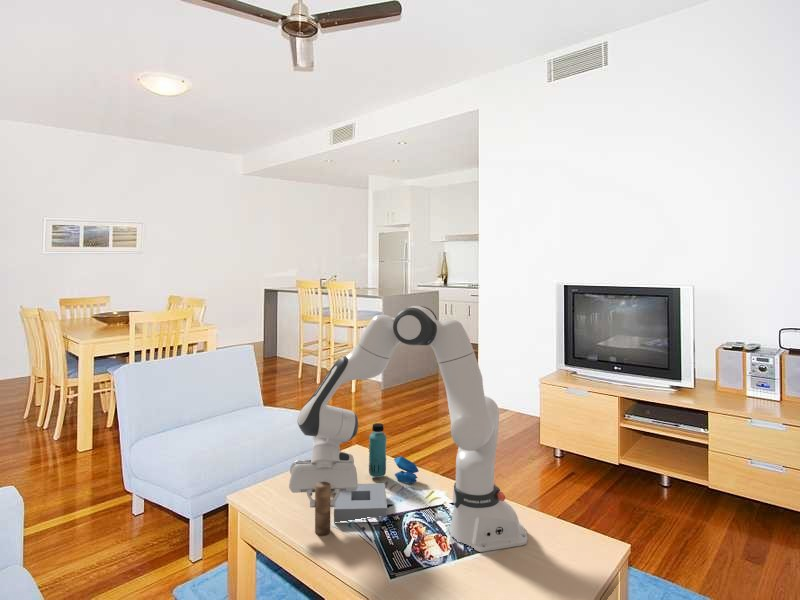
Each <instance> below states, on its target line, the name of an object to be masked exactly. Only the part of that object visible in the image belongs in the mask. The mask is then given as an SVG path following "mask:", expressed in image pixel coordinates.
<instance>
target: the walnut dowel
mask: <svg viewBox="0 0 800 600" xmlns="http://www.w3.org/2000/svg"><path fill="white" fill-rule="evenodd" d="M330 499H331V492H330V483H328V482H319V483H317V484H316V485H315V492H314V500H315V507H314V531H315V532H314V534H315V535H317V536H319V537H325V536H327V535H329V534H330V533H331V507H330Z"/></svg>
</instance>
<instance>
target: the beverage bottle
mask: <svg viewBox="0 0 800 600" xmlns="http://www.w3.org/2000/svg"><path fill="white" fill-rule="evenodd" d="M371 430H372V433H371V434H370V435H369V437H368V438H369V442H368V443H369V445H368V452H369V453H368V473H369V476H371V477H374V478H380V477H381V478H382V477H383V476H385V475H386V474H387V435H386V434H385V432H383V431H384V430H385V429H384V424H383V423H378V422H377V423H376V422H375V423H373V424H372V429H371Z"/></svg>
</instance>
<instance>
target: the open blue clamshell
mask: <svg viewBox="0 0 800 600" xmlns="http://www.w3.org/2000/svg"><path fill="white" fill-rule="evenodd" d="M393 460H394V462H395V464H396V466H397V467H398V468H399V469H400V470H401V471H399V472H398V471H397V472H396V473H394V477H395V478H396V479H397V481H398V482H402V483H406V484H413V483H416V482H417V479H418V477H417V475H416V473H419V472H420V471H419V468H418V467H417V465H416V464H415V463H414V462H412V461H410V460H409V459H407V458H406V457H404V456H399V457H395V458H393Z"/></svg>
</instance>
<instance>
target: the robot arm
mask: <svg viewBox="0 0 800 600" xmlns="http://www.w3.org/2000/svg"><path fill="white" fill-rule="evenodd" d="M400 343H402V344H405V345H407V346H430V347H431V349H432V350H433V353H434V356H435V359H436V362H437V365H438V368H439V372H440V375H441V378H442V382H443V384H444V388H445V392H446V399H447V406H448V413H449V419H450V434H451V439H452V441H453V443H454V444H455V445H456V446H457V447H458V449H457V453H456V458H455V481H454V484H453V491H452V492H453V496H452V498H453V499H452V500H453V501H452V502H453V511H452V516H451V522H450V524H449V527H450V532H451V534H452V535H453V536H454V538H456V539H457V540H458V541H460V542H462V543H464V544H467V545H469V546H468V547H470V546H471V547H470V548H471V549H473V548H474V549H473V550H475V551H477V552H480V553H484V552H489V551H495V550H502V549H507V548H513V547H514V548H515V547H520V546H525V545H527V543H528V541H529V540H528V534H527V531H526V529H525V527H524V525H523V524H522V523H521V522H520V521H519V517H518V515H517V513H516V510H515V509H514V508H513V507H512V506H511V505H510V504H509V503H508V502H506V501H505V500H506V499H507V498H506V495H505V493H504V492H503V491H501V489H500V487H498V486H497V485H496V484H495V466H496V465H495V461H496V453H497V445H498V444H497V443H498V438H499V437H498V436H499V435H498V434H499V424H500V409H499V407H498V404H497V403H496V401H495V400H494V399H493V398H491V397H489V396H486V395H485V389H484V383H483V381H484V380H483V375H482V372H481V368H480V367H479V364H478V363H479V362H478V360H477V357H476V353H475V350H474V348H473V345H472V343H471V340H470V338H469V336H468V334H467V331H466V330H465V328H464V326H463V324H462V323H461V322H460V321H459V320H457V319H444V320H439V319H437V316H436V314H435V312H433V310H432V309H430V308H429V307H426V306H422V305H411V306H409V307H406V308H403V309H401V310H400V311H399V312H398V313H397V314H396V315H395V317H392V316H390V315H388V314H377V315H375V316H373V317H372V318H371V320H370V321H369V322H368V324H367V325H366V327H365V329H364V330H363V332H362V333H361V335H360V337H359V339H358V341H357V343H356V346H355V347H354V348H353V349H352V350H351V351H349V353H348V354H347V355H344V356H341V357H339V358H338V359H337V360H336V362H334V364H333V365H332V367H331V368H330V370H329V371H328V372H327V373H326V375H325V377H324V378H323V380H322V381H321V383H320V384H319V386H317V389H315V391H314V393H313V394H312V396H310V398H309V400H307V402H306V403H305V404H304V405H303V407H302V408H301V409H300V412H299V413H298V417H297V426H298V427H299V429H300V431H301V433H303V435H304V436H306V437H307V436H308V437H312V441H313V444H312V447H311V453H310V454H311V455H310V456H311V457H310V459H307V460H306V459H305V460H300V459H298V460H295V461H294V462H293V463H291V465H290V469H289V472H290V478H289V484H288V488H289V490H290V492H291V493H294V494H295V493H297V494H298V493H306V495H307V498H308V500H309V508H310V509H311V508H315V499H313V497H312V496H313V493H315V485H316V484H317V483H319V482H328V483H330V493H334V497H333V498H330V508H334V507H335V503H336V500H337V498H338V497H339V495H340V492H341V491H356V489H357V488H358V484H359V483H358V481H359V480H358V472H357V468H356V466H355V459H354V456H353V455H352V453H347V452H344V451H341V448H340V446H341V444H345V443H347V442H349V441H351V440H353V439H354V437H356V435H357V434H358V429H359V419H358V416H357V414H356V413H355V412H354V411H352V410H350V409H347V408H342V407H337V406H333V405H329V402H330V400H331V399H332V397H333V396H334V395H335V393H336V392H337V390H338V388H339V387H340V386H342V385H343V384H345V383H347V382H350V381H355V380H356V381H357V380H369V379H373V378H376V377H377V376H380V375H381V374H383V372H384V371H385V370H386V368H387V366H388V365H389V363H390V361H391V359H392V356H393V354H394V352H395V350H396V348H397V347H398V345H399V344H400ZM458 541H457V542H458ZM462 543H461V544H462ZM464 544H463V545H464ZM467 545H466V546H467Z"/></svg>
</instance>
